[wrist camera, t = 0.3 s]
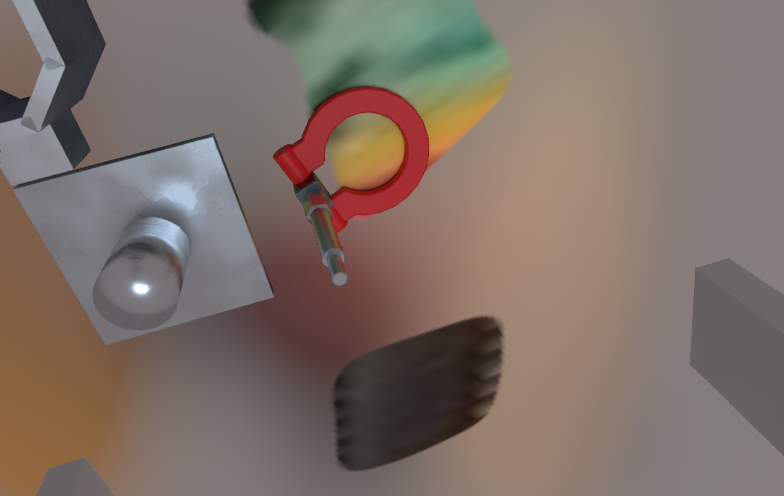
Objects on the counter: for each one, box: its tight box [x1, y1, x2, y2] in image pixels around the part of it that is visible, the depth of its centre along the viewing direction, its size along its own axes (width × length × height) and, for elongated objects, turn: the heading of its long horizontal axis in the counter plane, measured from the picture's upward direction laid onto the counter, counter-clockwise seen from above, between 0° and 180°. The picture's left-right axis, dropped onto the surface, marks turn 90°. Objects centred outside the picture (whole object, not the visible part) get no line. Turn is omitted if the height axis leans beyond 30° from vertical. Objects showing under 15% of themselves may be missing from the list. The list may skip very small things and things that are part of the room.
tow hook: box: [273, 86, 429, 286], centre depth 31 cm, size 8×13×9 cm
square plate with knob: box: [13, 134, 274, 345], centre depth 34 cm, size 12×12×7 cm
